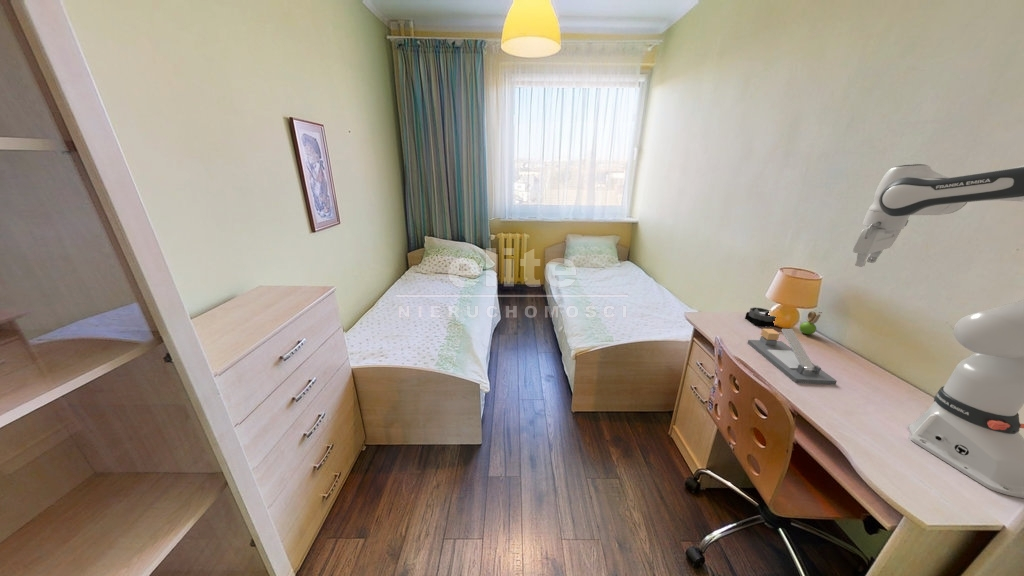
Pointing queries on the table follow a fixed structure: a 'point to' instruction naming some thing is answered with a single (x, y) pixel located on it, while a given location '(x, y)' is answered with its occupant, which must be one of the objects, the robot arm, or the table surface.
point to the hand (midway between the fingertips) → (865, 264)
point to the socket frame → (789, 362)
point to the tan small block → (770, 334)
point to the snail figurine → (810, 323)
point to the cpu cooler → (760, 317)
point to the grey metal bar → (798, 350)
